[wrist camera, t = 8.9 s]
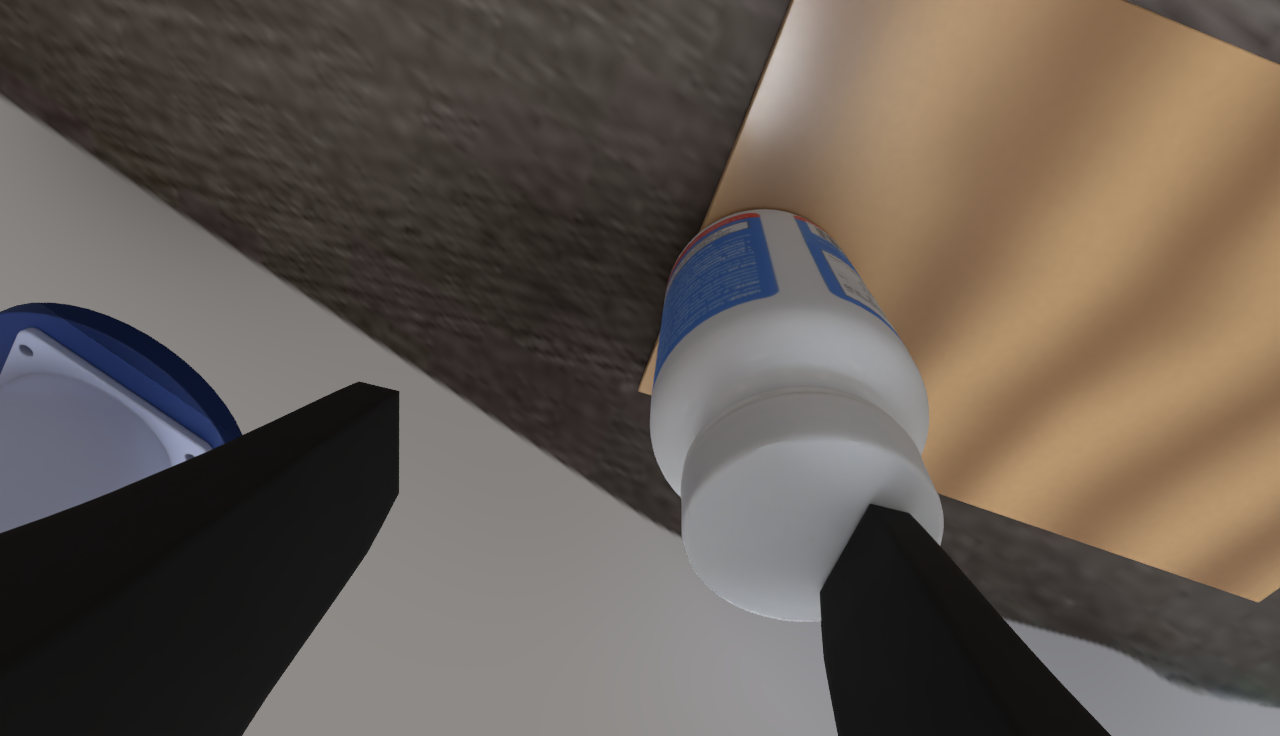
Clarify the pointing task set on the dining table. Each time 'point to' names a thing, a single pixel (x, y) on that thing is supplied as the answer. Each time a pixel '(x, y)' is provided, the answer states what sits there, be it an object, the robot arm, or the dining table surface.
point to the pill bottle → (782, 410)
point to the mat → (1053, 254)
